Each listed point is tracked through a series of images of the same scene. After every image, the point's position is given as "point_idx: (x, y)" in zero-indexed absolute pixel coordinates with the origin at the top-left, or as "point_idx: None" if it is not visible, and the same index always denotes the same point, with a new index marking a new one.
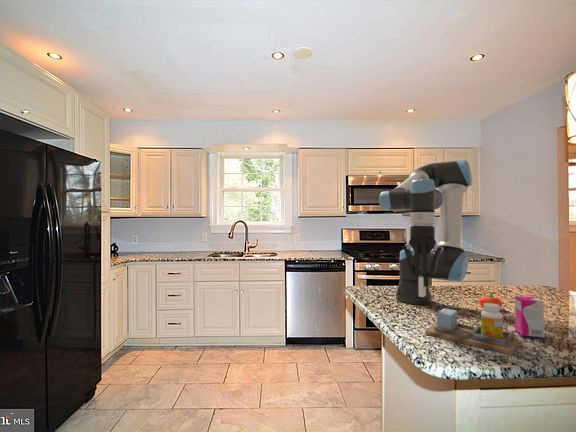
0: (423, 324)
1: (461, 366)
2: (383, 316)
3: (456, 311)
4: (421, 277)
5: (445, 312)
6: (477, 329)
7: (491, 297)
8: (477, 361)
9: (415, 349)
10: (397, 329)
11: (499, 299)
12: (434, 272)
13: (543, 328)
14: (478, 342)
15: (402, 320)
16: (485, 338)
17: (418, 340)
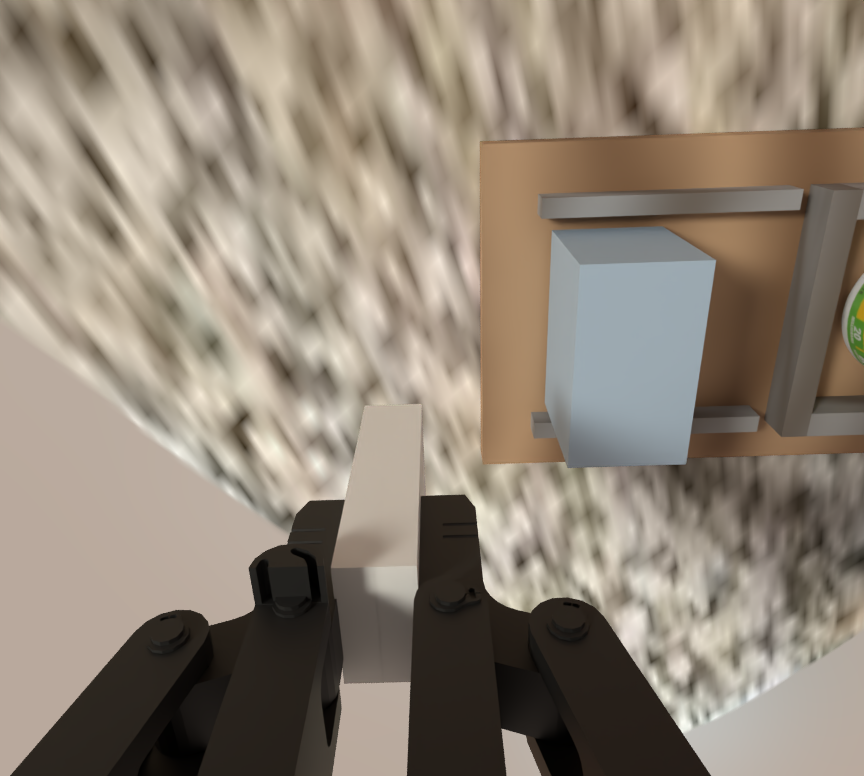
0: (386, 248)
1: (730, 696)
2: (39, 284)
3: (711, 276)
4: (394, 675)
5: (628, 404)
6: (835, 307)
7: None
8: (793, 615)
9: None
10: (301, 485)
11: None
12: (606, 664)
13: None
14: (816, 449)
15: (212, 272)
16: None
17: (483, 563)
